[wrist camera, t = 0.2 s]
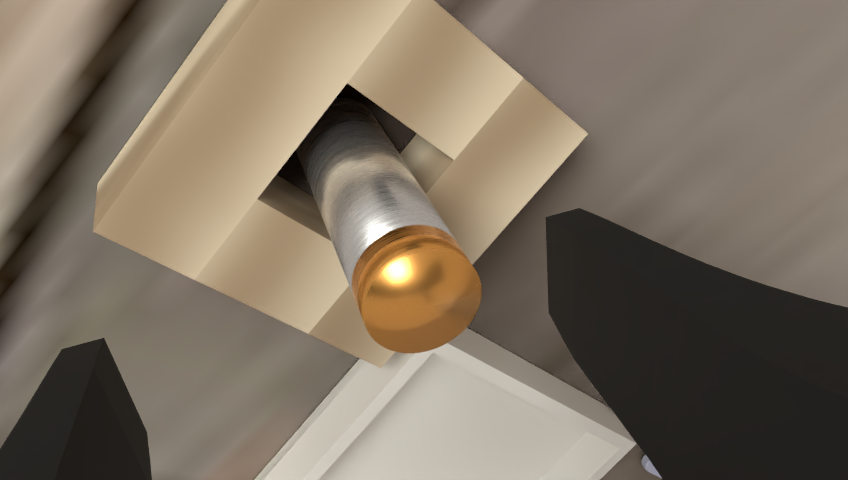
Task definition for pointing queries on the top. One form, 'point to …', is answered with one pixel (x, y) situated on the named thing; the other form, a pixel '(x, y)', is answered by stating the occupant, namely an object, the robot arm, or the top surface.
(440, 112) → the block
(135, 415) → the robot arm
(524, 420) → the tray
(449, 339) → the pin
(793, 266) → the top surface
